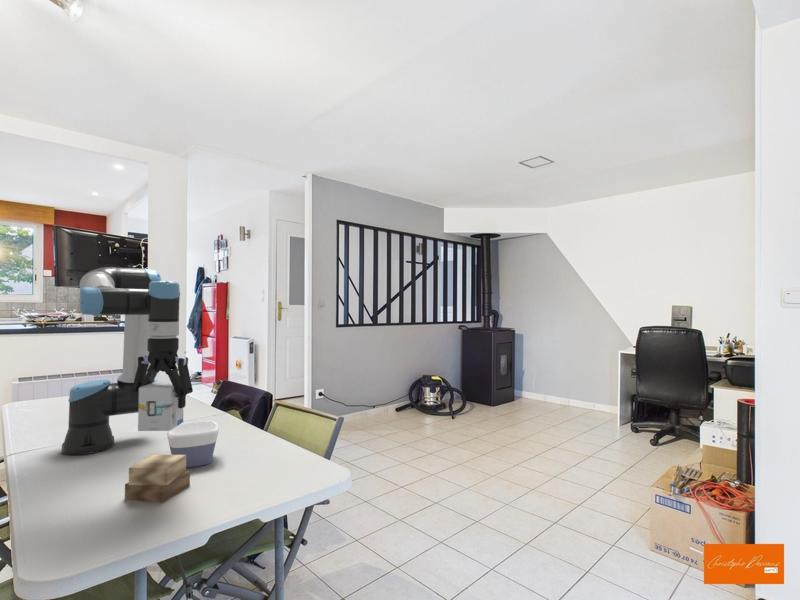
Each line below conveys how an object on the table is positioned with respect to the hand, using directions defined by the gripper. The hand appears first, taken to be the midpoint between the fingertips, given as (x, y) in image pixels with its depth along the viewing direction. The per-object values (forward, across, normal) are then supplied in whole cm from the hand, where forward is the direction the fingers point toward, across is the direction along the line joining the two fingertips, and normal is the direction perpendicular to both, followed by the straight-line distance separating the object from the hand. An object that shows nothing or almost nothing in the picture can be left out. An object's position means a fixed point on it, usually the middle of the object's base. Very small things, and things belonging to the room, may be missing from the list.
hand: (161, 418), depth 117 cm
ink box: (+2, 0, 0) cm, 2 cm away
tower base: (+20, 0, 0) cm, 21 cm away
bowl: (+20, -6, +22) cm, 31 cm away
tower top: (+16, 0, 0) cm, 16 cm away
